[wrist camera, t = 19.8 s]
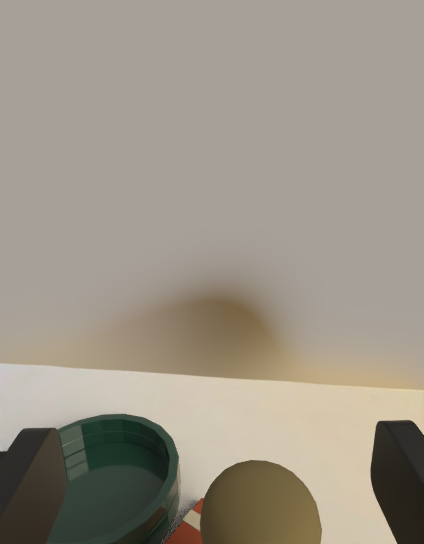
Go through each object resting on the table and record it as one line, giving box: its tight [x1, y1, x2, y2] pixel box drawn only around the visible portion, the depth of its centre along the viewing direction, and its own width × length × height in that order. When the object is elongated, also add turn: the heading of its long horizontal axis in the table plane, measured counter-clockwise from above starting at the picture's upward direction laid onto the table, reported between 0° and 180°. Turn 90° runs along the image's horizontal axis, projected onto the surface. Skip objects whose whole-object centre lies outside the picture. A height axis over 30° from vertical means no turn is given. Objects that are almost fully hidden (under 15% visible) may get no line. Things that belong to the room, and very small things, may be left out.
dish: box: [46, 414, 181, 544], centre depth 29 cm, size 13×13×3 cm
